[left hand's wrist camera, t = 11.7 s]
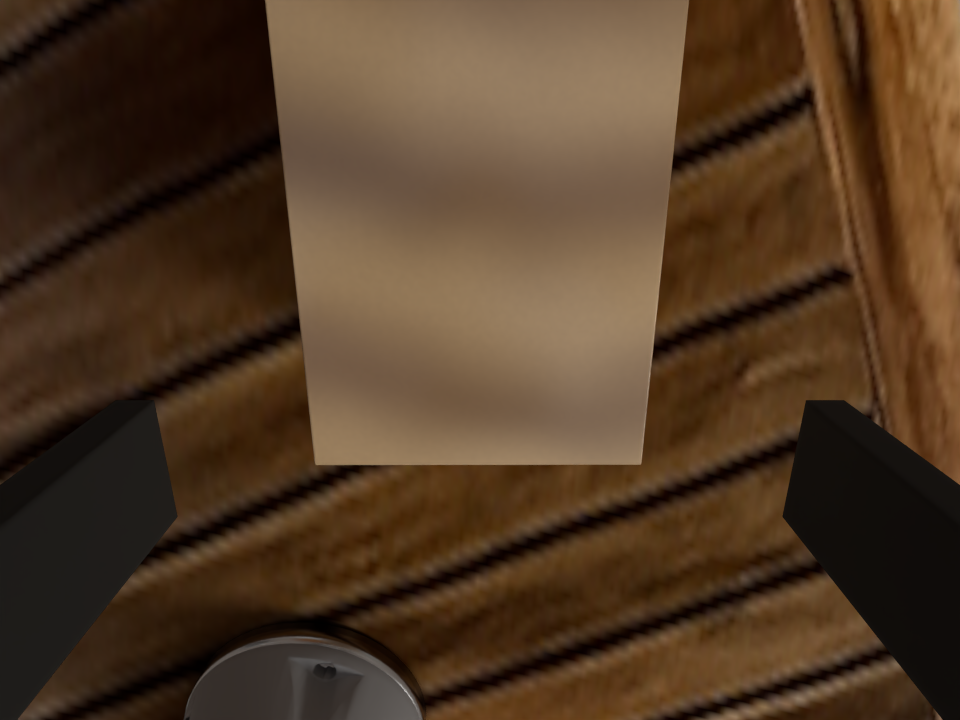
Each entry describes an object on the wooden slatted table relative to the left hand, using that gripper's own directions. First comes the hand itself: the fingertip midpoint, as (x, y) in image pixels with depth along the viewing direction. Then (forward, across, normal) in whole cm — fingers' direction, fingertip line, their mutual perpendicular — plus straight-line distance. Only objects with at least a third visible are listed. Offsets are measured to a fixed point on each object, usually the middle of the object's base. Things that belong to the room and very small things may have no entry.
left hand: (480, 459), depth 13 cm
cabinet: (+19, 0, -5) cm, 20 cm away
